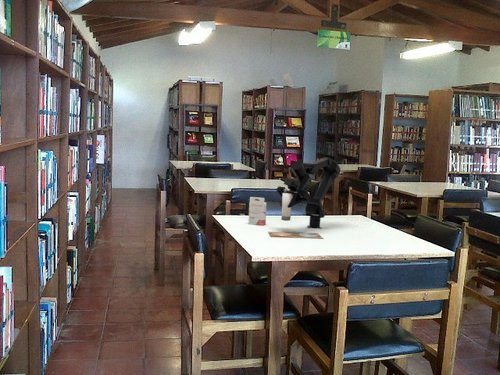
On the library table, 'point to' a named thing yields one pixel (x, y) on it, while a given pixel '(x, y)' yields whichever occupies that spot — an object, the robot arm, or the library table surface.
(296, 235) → the walnut board
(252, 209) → the ink cartridge box
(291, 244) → the library table surface
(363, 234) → the library table surface
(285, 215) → the frosted light bulb
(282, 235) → the terracotta coaster
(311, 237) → the grey coaster
